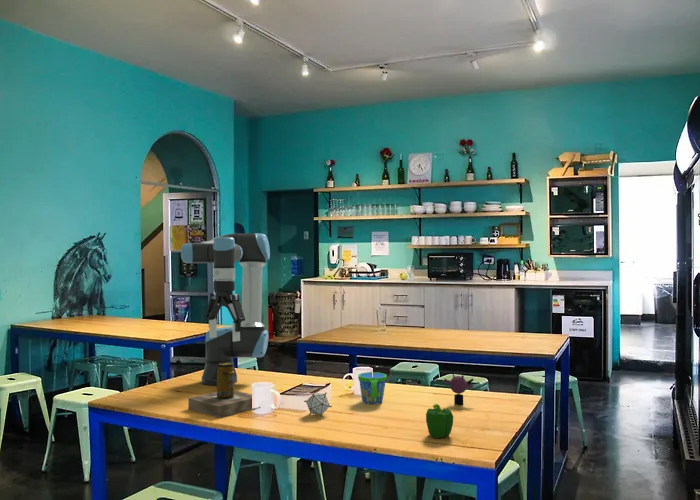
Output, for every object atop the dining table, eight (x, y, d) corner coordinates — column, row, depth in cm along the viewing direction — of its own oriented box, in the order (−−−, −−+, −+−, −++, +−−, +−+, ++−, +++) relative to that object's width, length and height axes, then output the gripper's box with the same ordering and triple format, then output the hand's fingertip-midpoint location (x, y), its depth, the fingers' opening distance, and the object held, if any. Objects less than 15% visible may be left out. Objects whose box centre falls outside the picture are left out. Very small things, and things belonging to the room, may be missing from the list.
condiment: (229, 394, 217) (229, 361, 217) (241, 398, 210) (241, 364, 211) (211, 397, 212) (211, 363, 212) (222, 401, 206) (222, 367, 206)
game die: (323, 425, 203) (341, 402, 203) (309, 422, 196) (327, 398, 196) (309, 408, 209) (326, 386, 208) (294, 404, 202) (312, 381, 202)
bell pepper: (441, 430, 184) (441, 398, 185) (458, 437, 177) (458, 404, 177) (419, 434, 180) (419, 401, 181) (435, 442, 173) (435, 407, 173)
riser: (229, 399, 225) (229, 389, 225) (260, 407, 213) (260, 396, 213) (188, 409, 211) (188, 397, 211) (219, 418, 199) (219, 406, 199)
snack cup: (386, 407, 212) (386, 379, 212) (357, 407, 213) (357, 379, 213) (386, 397, 228) (386, 370, 228) (359, 397, 228) (359, 370, 228)
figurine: (474, 404, 216) (474, 371, 216) (460, 408, 211) (460, 374, 211) (457, 400, 222) (457, 368, 222) (443, 403, 217) (442, 371, 217)
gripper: (195, 279, 218) (195, 337, 218) (237, 281, 202) (238, 343, 202) (212, 278, 224) (212, 335, 224) (254, 280, 207) (255, 341, 207)
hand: (224, 339), depth 213 cm, fingers open, 13 cm apart
